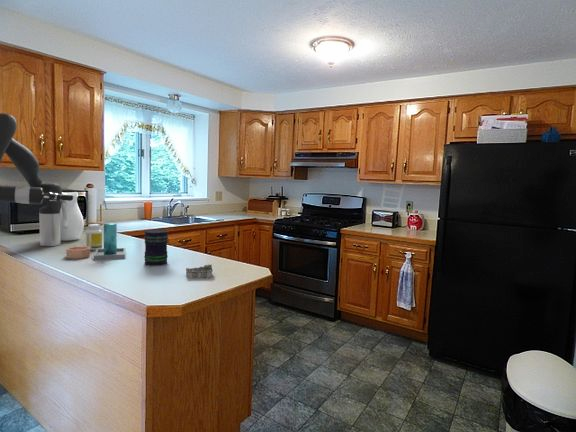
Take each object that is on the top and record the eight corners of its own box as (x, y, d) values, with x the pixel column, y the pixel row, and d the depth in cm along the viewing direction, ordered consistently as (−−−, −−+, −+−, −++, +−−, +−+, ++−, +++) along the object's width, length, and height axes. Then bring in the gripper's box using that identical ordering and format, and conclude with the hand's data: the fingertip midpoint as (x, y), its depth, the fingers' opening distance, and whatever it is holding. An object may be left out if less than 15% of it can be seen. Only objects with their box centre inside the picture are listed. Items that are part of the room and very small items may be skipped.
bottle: (104, 253, 169) (104, 223, 168) (116, 253, 171) (116, 223, 170) (103, 255, 164) (103, 224, 163) (116, 255, 166) (116, 224, 165)
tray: (96, 252, 172) (96, 248, 172) (125, 251, 178) (125, 248, 178) (93, 259, 158) (93, 255, 158) (124, 258, 163) (124, 254, 163)
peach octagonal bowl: (68, 254, 165) (68, 246, 165) (91, 253, 169) (90, 245, 169) (65, 259, 157) (65, 250, 156) (88, 258, 161) (88, 249, 160)
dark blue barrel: (159, 266, 151) (160, 233, 150) (139, 264, 153) (139, 231, 152) (171, 262, 161) (172, 230, 159) (152, 260, 163) (153, 228, 161)
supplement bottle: (104, 248, 185) (104, 224, 183) (96, 250, 178) (96, 225, 176) (92, 247, 185) (92, 223, 184) (83, 249, 178) (83, 225, 177)
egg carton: (212, 273, 145) (212, 264, 145) (212, 278, 138) (212, 268, 137) (186, 273, 143) (186, 264, 143) (184, 279, 136) (185, 268, 135)
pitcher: (53, 237, 208) (52, 191, 206) (85, 236, 215) (85, 192, 213) (44, 244, 187) (43, 193, 184) (80, 243, 194) (80, 194, 191)
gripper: (27, 186, 146) (72, 190, 154) (32, 186, 158) (73, 189, 166) (26, 204, 146) (71, 206, 154) (31, 202, 159) (72, 205, 167)
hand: (72, 198), depth 160 cm, fingers open, 8 cm apart
